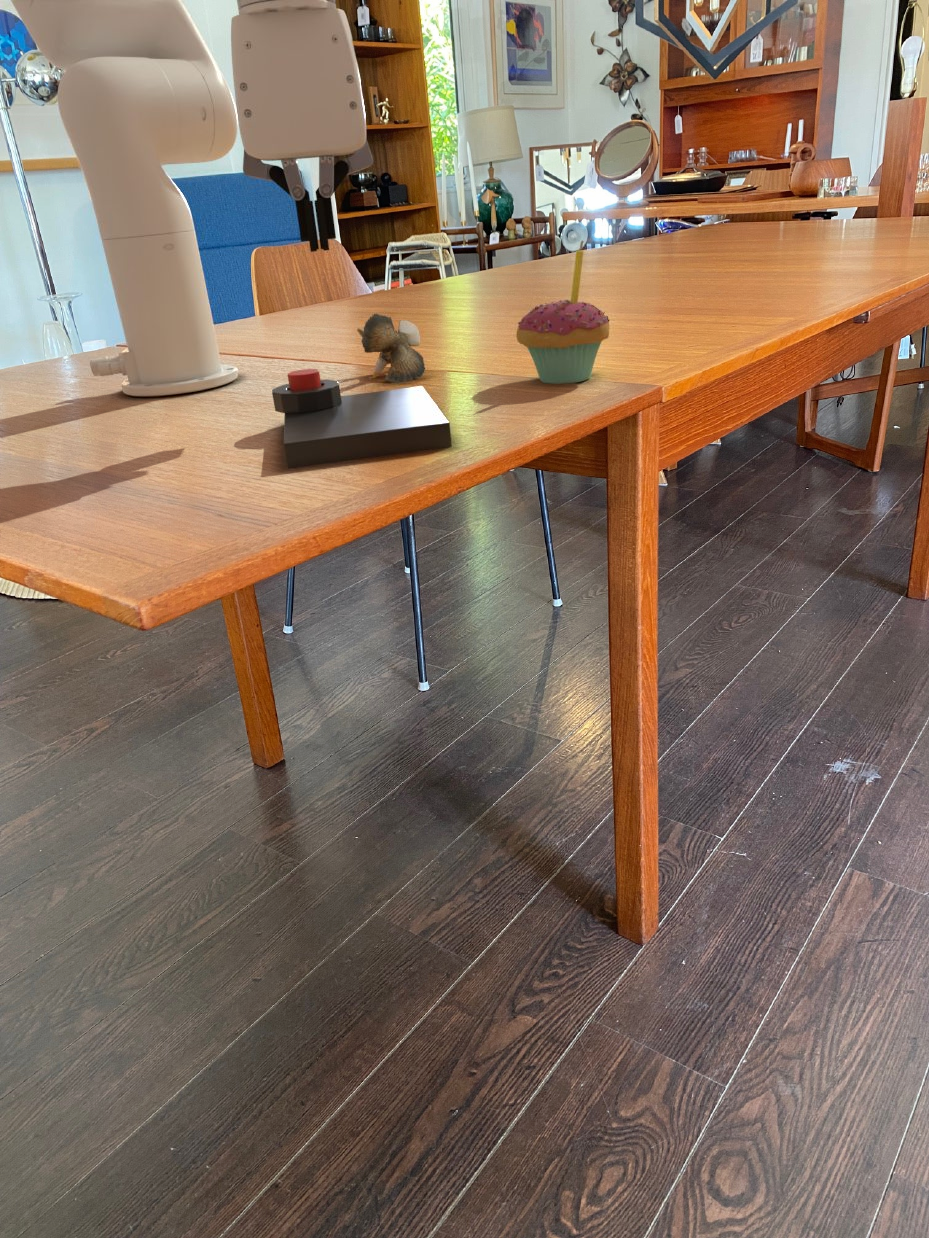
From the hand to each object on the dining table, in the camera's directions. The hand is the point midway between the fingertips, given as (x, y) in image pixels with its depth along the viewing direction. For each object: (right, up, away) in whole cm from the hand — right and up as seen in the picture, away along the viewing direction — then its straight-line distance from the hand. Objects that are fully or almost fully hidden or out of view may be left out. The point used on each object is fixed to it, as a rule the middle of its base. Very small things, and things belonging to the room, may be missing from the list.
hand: (319, 249), depth 78 cm
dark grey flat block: (+4, -17, -5) cm, 18 cm away
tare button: (-1, -13, -3) cm, 13 cm away
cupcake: (+22, -9, +8) cm, 25 cm away
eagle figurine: (+5, -6, +18) cm, 20 cm away
